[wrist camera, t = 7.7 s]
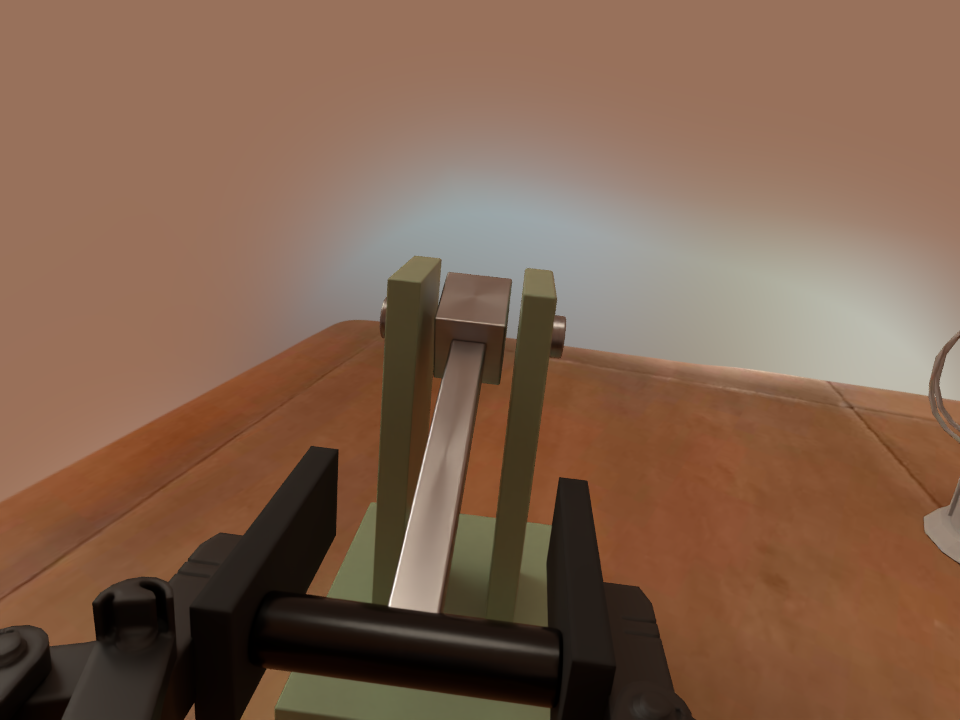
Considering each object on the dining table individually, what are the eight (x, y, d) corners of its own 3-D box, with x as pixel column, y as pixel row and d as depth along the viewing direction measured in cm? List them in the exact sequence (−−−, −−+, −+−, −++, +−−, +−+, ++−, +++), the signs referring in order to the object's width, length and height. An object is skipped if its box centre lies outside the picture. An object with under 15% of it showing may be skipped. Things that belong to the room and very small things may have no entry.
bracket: (567, 781, 19) (649, 341, 15) (273, 738, 20) (269, 298, 15) (555, 547, 31) (599, 259, 26) (369, 523, 31) (382, 236, 27)
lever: (549, 732, 13) (567, 676, 11) (257, 690, 13) (236, 630, 12) (558, 341, 23) (568, 284, 22) (394, 322, 23) (392, 265, 22)
